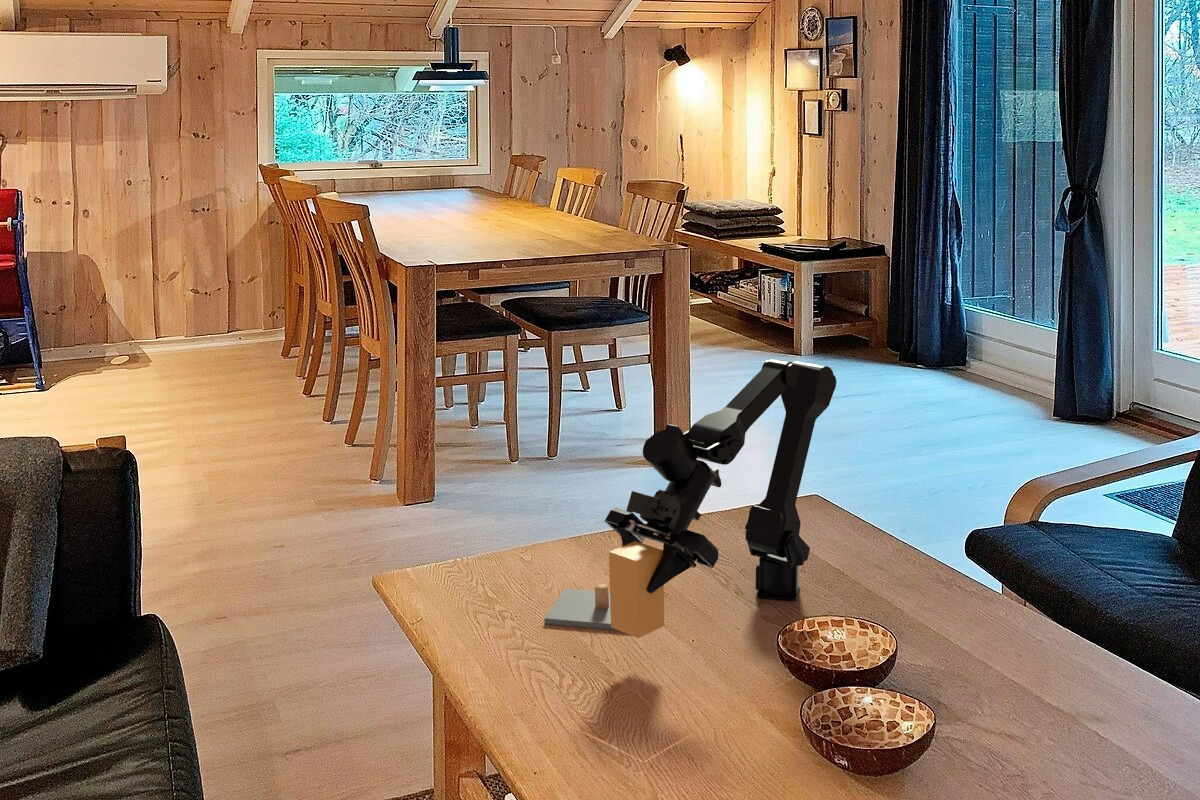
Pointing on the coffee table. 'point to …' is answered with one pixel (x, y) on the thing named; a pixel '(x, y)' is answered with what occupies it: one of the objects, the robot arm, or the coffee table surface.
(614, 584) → the tall amber pillar
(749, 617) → the coffee table surface
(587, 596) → the post board
